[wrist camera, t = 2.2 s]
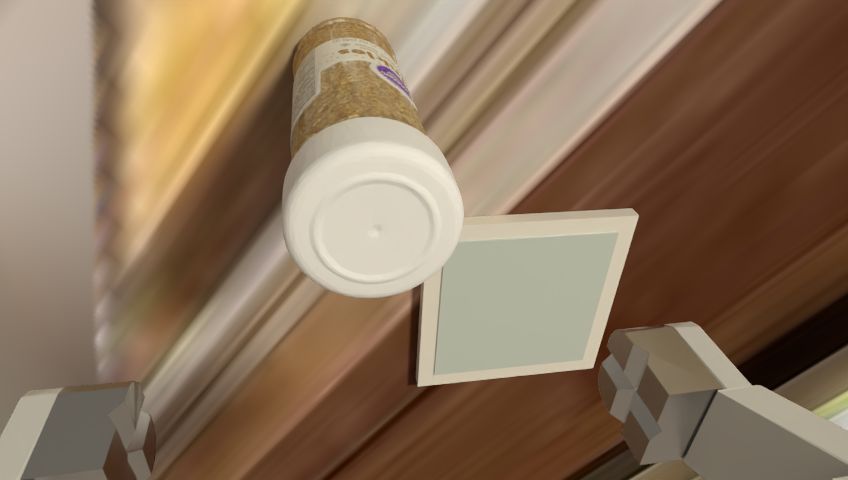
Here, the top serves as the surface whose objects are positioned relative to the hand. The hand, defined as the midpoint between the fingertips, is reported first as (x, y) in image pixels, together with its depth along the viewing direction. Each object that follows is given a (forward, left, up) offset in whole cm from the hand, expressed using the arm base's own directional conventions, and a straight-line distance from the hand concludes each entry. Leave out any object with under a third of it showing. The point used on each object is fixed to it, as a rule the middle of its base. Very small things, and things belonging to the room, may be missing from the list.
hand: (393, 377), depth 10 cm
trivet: (-10, +14, -18) cm, 25 cm away
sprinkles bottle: (0, 0, -18) cm, 18 cm away
